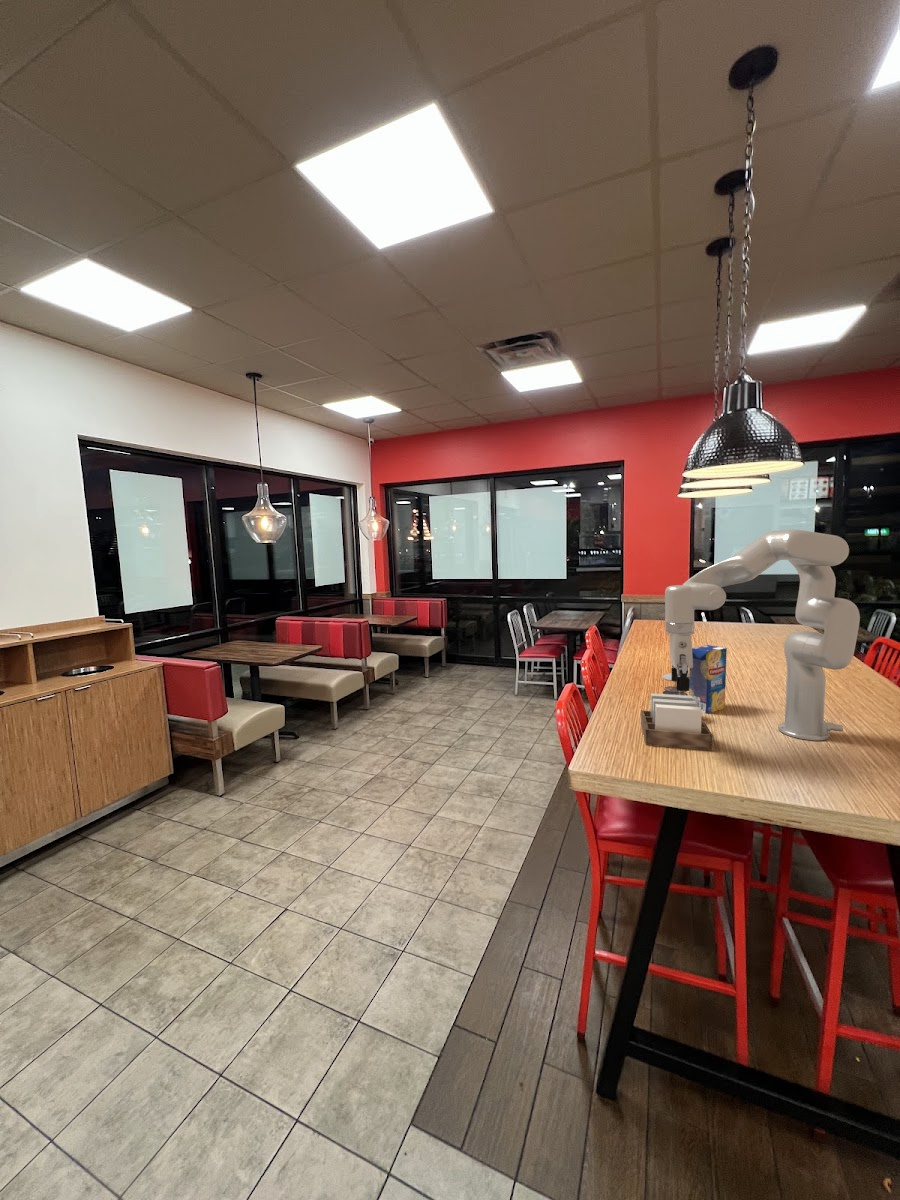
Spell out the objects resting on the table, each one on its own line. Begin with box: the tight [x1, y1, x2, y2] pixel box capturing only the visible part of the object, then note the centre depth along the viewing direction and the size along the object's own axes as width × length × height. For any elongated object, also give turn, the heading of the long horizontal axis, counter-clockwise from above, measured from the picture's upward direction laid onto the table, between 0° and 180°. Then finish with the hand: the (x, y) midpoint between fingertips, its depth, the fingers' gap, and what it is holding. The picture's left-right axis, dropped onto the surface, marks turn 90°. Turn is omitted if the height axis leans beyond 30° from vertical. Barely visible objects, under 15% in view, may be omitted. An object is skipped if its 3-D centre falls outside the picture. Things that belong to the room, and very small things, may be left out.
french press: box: [661, 672, 689, 696], centre depth 161 cm, size 10×12×25 cm
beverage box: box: [688, 644, 728, 714], centre depth 170 cm, size 7×11×22 cm, turn 120°
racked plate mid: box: [652, 699, 697, 723], centre depth 145 cm, size 12×3×10 cm, turn 72°
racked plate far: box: [650, 693, 694, 717], centre depth 151 cm, size 12×3×10 cm, turn 72°
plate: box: [655, 704, 703, 733], centre depth 140 cm, size 12×3×10 cm, turn 72°
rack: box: [640, 710, 714, 752], centre depth 146 cm, size 18×18×4 cm
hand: (680, 685), depth 139 cm, fingers open, 9 cm apart
